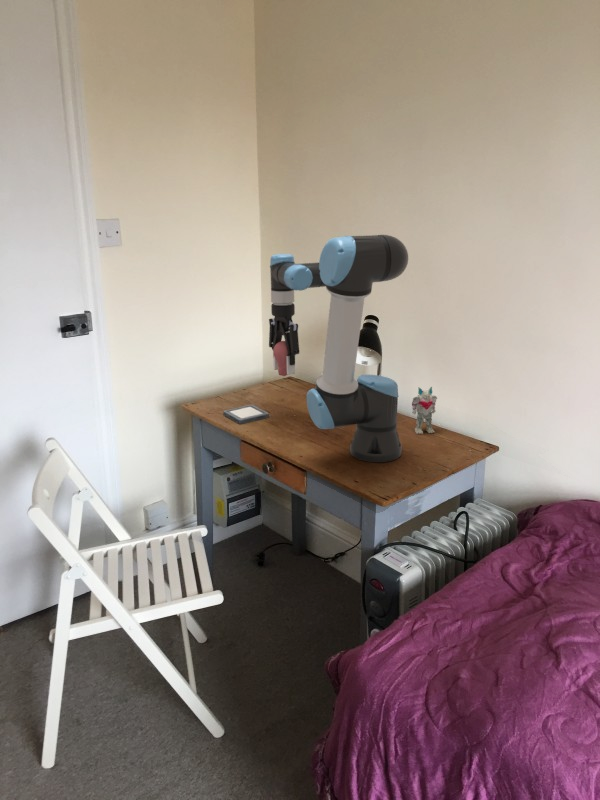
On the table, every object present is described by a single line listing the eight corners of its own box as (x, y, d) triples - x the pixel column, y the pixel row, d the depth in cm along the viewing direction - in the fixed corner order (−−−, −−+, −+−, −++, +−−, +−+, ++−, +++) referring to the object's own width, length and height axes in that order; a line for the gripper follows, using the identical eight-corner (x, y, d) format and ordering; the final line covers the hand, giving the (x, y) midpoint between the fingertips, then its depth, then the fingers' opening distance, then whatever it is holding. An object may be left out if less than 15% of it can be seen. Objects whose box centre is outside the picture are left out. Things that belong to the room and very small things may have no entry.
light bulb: (292, 379, 214) (292, 343, 210) (271, 378, 215) (270, 343, 211) (296, 373, 220) (296, 339, 216) (276, 372, 222) (275, 338, 218)
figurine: (406, 432, 209) (408, 387, 204) (416, 424, 215) (418, 381, 210) (430, 436, 205) (433, 391, 200) (439, 429, 211) (442, 385, 206)
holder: (269, 417, 223) (269, 413, 222) (240, 424, 216) (239, 420, 216) (251, 408, 232) (251, 404, 231) (223, 415, 225) (223, 410, 225)
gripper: (310, 306, 204) (311, 376, 211) (275, 298, 220) (277, 363, 227) (290, 308, 200) (292, 380, 207) (256, 300, 216) (258, 367, 223)
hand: (284, 371), depth 217 cm, fingers closed on light bulb, 7 cm apart
